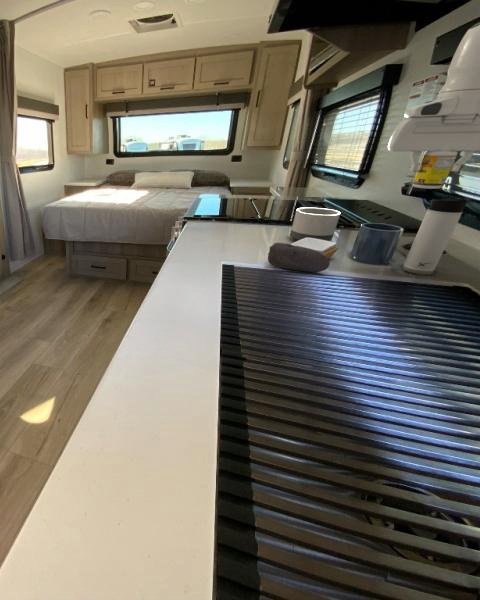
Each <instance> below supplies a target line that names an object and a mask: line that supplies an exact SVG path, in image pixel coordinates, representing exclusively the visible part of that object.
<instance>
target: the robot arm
mask: <svg viewBox="0 0 480 600" xmlns="http://www.w3.org/2000/svg"><path fill="white" fill-rule="evenodd" d="M404 117H405V118H404V119H402V120H401V121H399V123H398V124H397V125H396V127H395V129H394V131H393V133H392V134H391V136H390V139H389V142H388V145H387V149H388V151H390V152H394V153H395V152H398V153H399V152H401V153H402V152H410V153H409V160H410V163H411V166H410V168H409V172H411V173H417V172H419V171H420V170H421V167H422V165H423V164H421V163H420V162H419V160H418V157H421V155H422V153H423V152H427V151H441V150H440V149H441V147H442V145H443V143H444V142H454V144H453V147H452V149H451V150H450V151H456V152H460V153H459V156H460V158H459V159H457V161H454V163H453V165H452V167H451V170H450V172H449V173H459V171H460V169H461V167H462V165H463V164H465V163H466V162H467V161H469V159H471V158H472V157H473V155H474V153H475V152H480V21H479V22H477V23H475V24H474V25H472V26H471V27H470V28H469V29H467V31H466V32H465V34H464V35H463V36H462V39H461V41H460V42H459V44H458V46H457V48H456V49H455V52H454V54H453V56H452V59H451V62H450V64H449V66H448V69H447V76H446V80H445V82H444V84H443V86H442V87H441V89H440V90H439V92H438V94H437V97H436V98H435V99H434V100H429V101H426V102H423V103H420V104H417V105H413V106H409V107H408V108H407V109H406V110H405V113H404Z"/></svg>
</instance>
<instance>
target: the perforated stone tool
mask: <svg viewBox="0 0 480 600" xmlns="http://www.w3.org/2000/svg"><path fill="white" fill-rule="evenodd" d="M267 261H268V264H270V265H271V266H274V267H277V268H281V269H286V270H292V271H296V272H297V271H298V272H299V271H300V272H306V273H320V272H323V271H326V270H327V269H328V268H329V267H330V263H331V262H330V258H329V259H328V258H327V257H326V256H325V255H323V254H322V253H320V252H318V251H315V250H312V249H309V248H305V247H301V246H294V245H291V244H289V243H285V242H275V243H273V244H272V245H270V246H269V250H268V253H267Z"/></svg>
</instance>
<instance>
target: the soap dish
mask: <svg viewBox="0 0 480 600" xmlns="http://www.w3.org/2000/svg"><path fill="white" fill-rule="evenodd" d="M337 244H338V243H337V242H335V241H332V240H331V241H326V240H320V239H315V238H308V237H307V238H304V239H301V240H299V241H297V240H296V241H294V242H292V243H291V244H290V245H294V246H301V247H305V248H309V249H312V250H315V251H318V252H320V253H322V254H323V255H325V256H326V257H327V258H328V259H329V260H330V259H331V258H332V257H333V256H334V254H335V253H336V252H338V250H339V248H340V247H339V246H337Z"/></svg>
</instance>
